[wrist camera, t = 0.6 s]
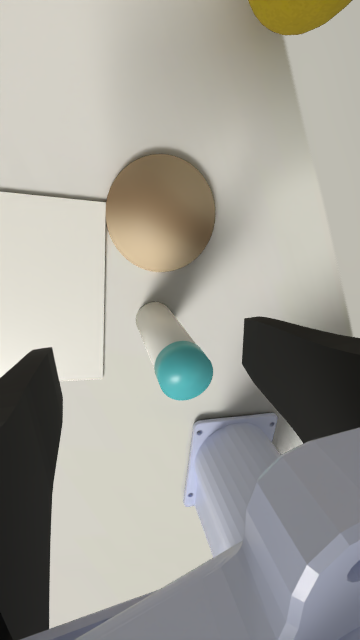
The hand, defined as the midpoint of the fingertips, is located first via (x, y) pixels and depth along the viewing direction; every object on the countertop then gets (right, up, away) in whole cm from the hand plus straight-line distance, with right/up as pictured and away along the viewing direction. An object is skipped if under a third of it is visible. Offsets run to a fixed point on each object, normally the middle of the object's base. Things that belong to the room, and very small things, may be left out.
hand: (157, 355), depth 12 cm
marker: (-1, +1, +11) cm, 11 cm away
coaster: (0, +8, +8) cm, 12 cm away
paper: (-9, +3, +8) cm, 12 cm away
